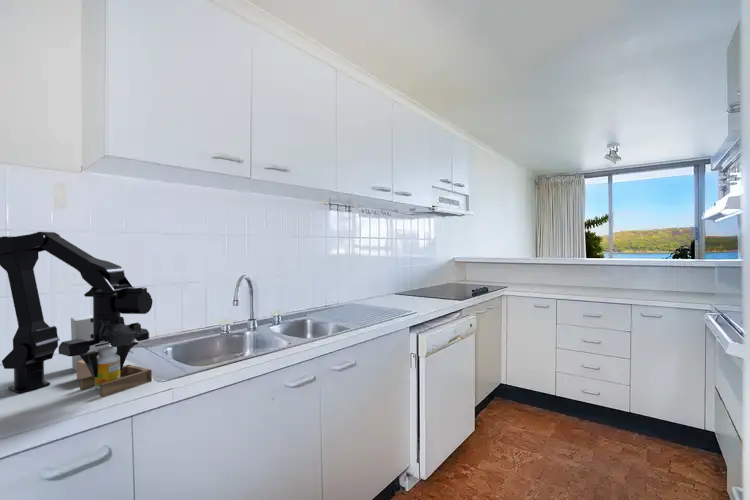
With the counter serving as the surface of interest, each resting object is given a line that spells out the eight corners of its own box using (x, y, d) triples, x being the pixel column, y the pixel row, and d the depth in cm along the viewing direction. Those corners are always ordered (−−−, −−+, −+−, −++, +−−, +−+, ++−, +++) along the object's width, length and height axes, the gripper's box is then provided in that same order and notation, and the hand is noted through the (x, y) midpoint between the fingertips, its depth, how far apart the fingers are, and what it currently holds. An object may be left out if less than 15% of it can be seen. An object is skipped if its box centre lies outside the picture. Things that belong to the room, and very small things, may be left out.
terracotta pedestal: (76, 379, 102) (76, 361, 102) (104, 371, 108) (104, 354, 108) (90, 383, 99) (90, 365, 99) (118, 375, 105) (118, 357, 105)
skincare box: (104, 361, 118) (103, 312, 118) (110, 365, 114) (110, 315, 113) (70, 368, 111) (69, 316, 111) (76, 373, 107) (75, 319, 107)
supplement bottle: (89, 387, 94) (89, 349, 94) (111, 380, 99) (111, 344, 99) (103, 390, 92) (103, 351, 92) (125, 383, 97) (124, 346, 97)
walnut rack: (80, 389, 95) (79, 378, 95) (128, 375, 105) (128, 364, 105) (102, 397, 90) (102, 384, 90) (151, 380, 101) (151, 369, 101)
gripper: (82, 323, 84) (82, 392, 84) (161, 310, 100) (162, 367, 100) (57, 319, 89) (57, 383, 89) (136, 307, 105) (137, 362, 105)
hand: (107, 373), depth 96 cm, fingers closed on supplement bottle, 5 cm apart
